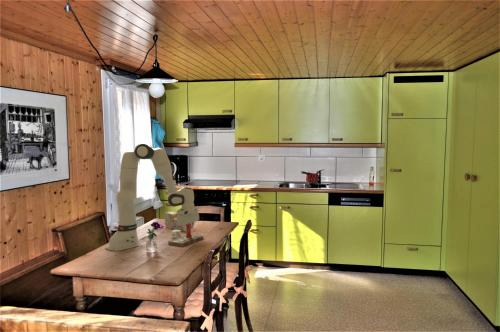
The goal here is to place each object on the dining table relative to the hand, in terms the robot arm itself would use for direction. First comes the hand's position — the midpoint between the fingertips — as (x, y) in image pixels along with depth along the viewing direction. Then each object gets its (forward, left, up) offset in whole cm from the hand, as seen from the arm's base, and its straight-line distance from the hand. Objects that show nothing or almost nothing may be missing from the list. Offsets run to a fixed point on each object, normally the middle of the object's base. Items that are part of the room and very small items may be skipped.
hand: (188, 229), depth 274 cm
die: (+2, +14, -8) cm, 16 cm away
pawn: (0, 0, -6) cm, 6 cm away
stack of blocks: (+22, +34, -8) cm, 41 cm away
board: (-3, 0, -8) cm, 8 cm away
